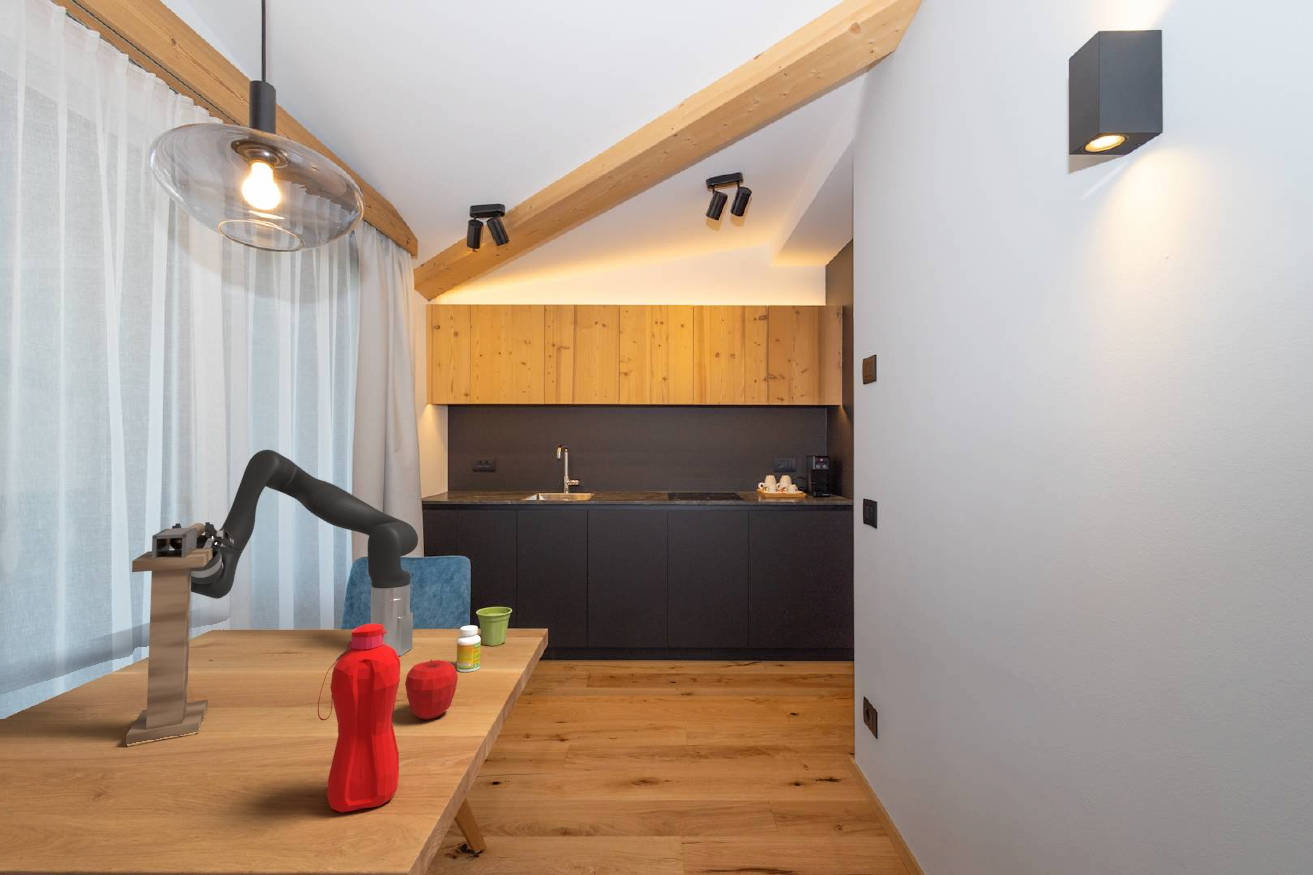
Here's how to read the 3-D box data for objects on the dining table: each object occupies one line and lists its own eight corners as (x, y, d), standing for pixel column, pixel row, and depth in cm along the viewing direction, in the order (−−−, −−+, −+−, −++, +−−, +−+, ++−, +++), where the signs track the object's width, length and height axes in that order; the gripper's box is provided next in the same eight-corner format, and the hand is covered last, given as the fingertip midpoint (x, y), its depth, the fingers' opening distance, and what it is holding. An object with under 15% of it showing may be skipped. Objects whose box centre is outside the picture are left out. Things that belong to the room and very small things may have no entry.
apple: (439, 729, 110) (440, 669, 111) (393, 724, 112) (394, 665, 113) (466, 707, 120) (467, 652, 120) (423, 703, 122) (424, 649, 122)
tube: (190, 535, 135) (190, 523, 135) (205, 534, 136) (205, 522, 136) (169, 549, 114) (169, 535, 114) (187, 548, 116) (188, 534, 116)
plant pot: (473, 640, 164) (473, 608, 165) (507, 636, 168) (508, 605, 169) (478, 650, 156) (479, 616, 156) (514, 645, 160) (515, 612, 160)
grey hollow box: (165, 550, 116) (166, 528, 116) (196, 548, 118) (196, 527, 118) (151, 559, 105) (152, 535, 106) (185, 557, 108) (186, 534, 108)
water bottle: (321, 788, 90) (325, 621, 91) (399, 775, 94) (402, 615, 95) (309, 823, 82) (313, 638, 83) (396, 807, 86) (399, 630, 86)
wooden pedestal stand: (142, 720, 113) (148, 551, 114) (207, 709, 118) (212, 547, 120) (125, 747, 103) (132, 560, 104) (198, 733, 108) (203, 556, 109)
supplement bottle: (476, 672, 139) (476, 630, 140) (453, 672, 140) (453, 630, 140) (483, 664, 145) (483, 624, 145) (461, 664, 145) (461, 624, 145)
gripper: (164, 544, 139) (151, 512, 126) (239, 540, 146) (234, 509, 134) (160, 574, 135) (146, 545, 123) (237, 569, 143) (231, 540, 130)
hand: (192, 526), depth 128 cm, fingers open, 4 cm apart
